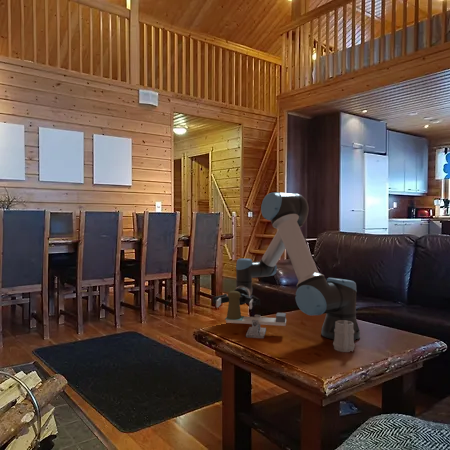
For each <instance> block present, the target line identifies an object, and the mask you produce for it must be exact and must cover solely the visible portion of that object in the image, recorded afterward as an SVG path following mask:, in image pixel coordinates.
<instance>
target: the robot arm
mask: <svg viewBox="0 0 450 450" xmlns="http://www.w3.org/2000/svg"><path fill="white" fill-rule="evenodd" d="M260 205H261V207H260V211H261V215H262V217H263V218H264V219H265V220H267V221H270V223H271V225H272V228H274V229H277V231H276V233H275V235H274V237H273V238H272V240H271V241H270V243H269V245H268V246H267V249H265V250H266V251H265V252H264V254H263V255H262V257H261V259H260V260H259V261H253V259H252V258H243V257H242V258H241V257H240V258H238V259H237V260H236V265H235V266H236V267H235V269H236V270H235V273H236V280H235V289H234V290H233V291H238V292H240V299H239V303H240V306H242V305H245V304H248V305H249V306H248V307H249V309H248V310H252V309H253V307H255V306H256V305H257V306H259V307H260V306H261V298H259V297H257V296H255V295H254V294H253V291H254V290H253V278H264V277H267V278H268V277H271V276H275V275H276V273H277V270H278V266H277V264H278V262H279V260H280V259H281V257H282V255H283V254H284V252H285V251H286V253H287V255H288V258H289V260H290V263H291V265H292V268H293V270H294V272H295V276H296V279H297V280H298V281H297V284H296V288H297V289H296V291H295V296H294V297H295V302H296V305H297V307H298V308H299V310H300V311H301V312H302V313H304V314H305V315H307V316H321V315H324V314H325V318H324V321H323V324H322V325H321V336H322V337H324V338H327V339H329V340H334V338H335V332H334V329H335V322H336V321H338V320H344V321H345V320H346V321H351V322H352V323H353V329H354V341H355V340H356V339H357V340H359V339H360V338H361V331H360V327H359V325H358V321H357V315H356V314H357V293H358V291H357V283H356V282H355V281H354V280H350V279H343V278H336V277H328V278H327V277H325V275H324V274H322V273H321V272H319V270H318V268H317V266H316V263H315V260H314V259H313V256H312V253H311V251H310V248H309V246H308V244H307V242H306V240H305V237H304V235H303V232H302V230H301V227H303V225H304V224H305V222H306V220H307V218H308V215H309V203H308V200H307V199H306V198H305V197H304V196H303V195H302V194H299V193H295V192H292V193H291V192H278V191H276V192H270V193H268V194H266V195H265V196H264V198H263V199H262V202H261V204H260ZM212 303H213V304H215V307H216V308H219V307H220V306H221V305H222V304H225V303H229V298H228V293H224V294H221V295H217V296H212Z"/></svg>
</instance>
